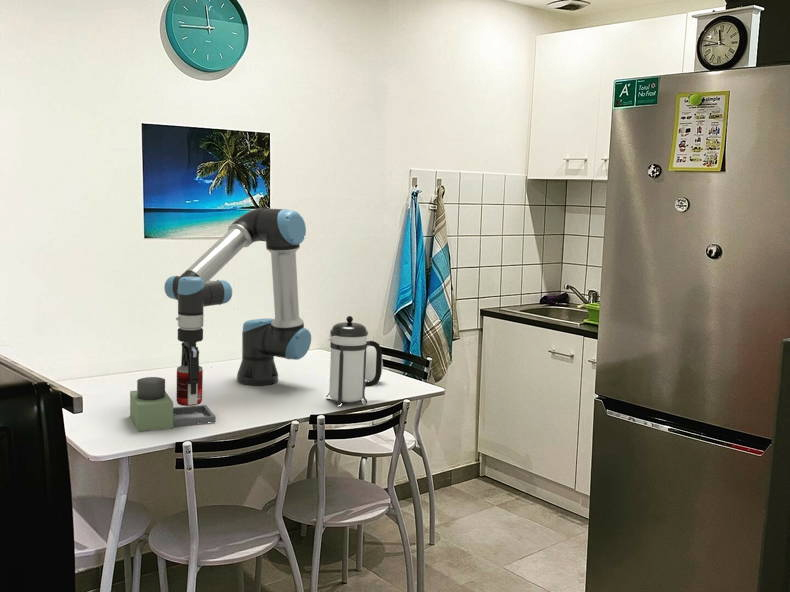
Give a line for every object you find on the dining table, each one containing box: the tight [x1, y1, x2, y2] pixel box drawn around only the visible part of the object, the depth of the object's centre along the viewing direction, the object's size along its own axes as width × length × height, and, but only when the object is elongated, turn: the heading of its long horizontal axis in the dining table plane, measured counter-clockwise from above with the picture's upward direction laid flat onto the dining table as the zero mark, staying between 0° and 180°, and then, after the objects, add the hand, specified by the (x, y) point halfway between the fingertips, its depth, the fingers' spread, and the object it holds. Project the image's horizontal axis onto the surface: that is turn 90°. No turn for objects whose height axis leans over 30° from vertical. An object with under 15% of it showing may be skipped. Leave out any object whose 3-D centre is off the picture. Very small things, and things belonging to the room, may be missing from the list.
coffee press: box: [325, 315, 383, 406], centre depth 264 cm, size 17×16×30 cm
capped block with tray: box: [129, 376, 217, 432], centre depth 236 cm, size 23×16×13 cm
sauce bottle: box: [365, 336, 384, 382], centre depth 291 cm, size 8×8×18 cm
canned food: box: [176, 365, 204, 407], centre depth 237 cm, size 8×8×11 cm
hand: (189, 400), depth 238 cm, fingers closed on canned food, 8 cm apart
